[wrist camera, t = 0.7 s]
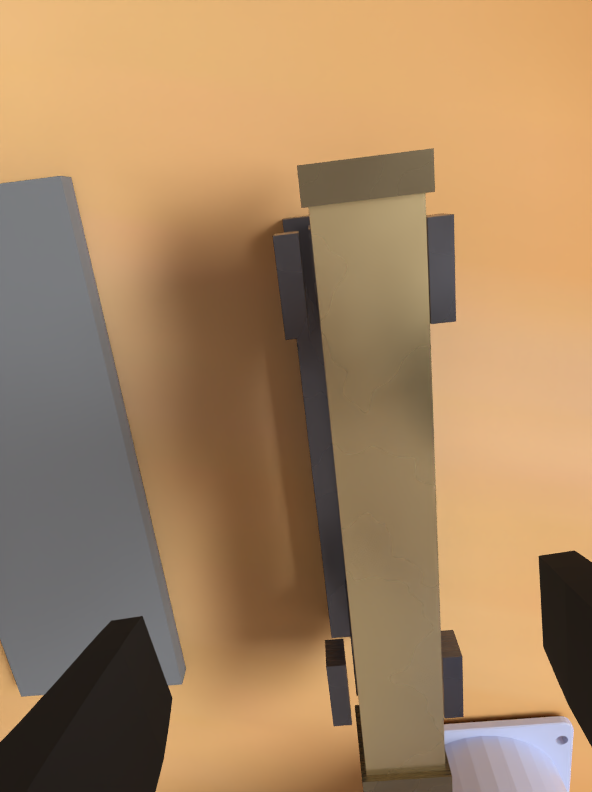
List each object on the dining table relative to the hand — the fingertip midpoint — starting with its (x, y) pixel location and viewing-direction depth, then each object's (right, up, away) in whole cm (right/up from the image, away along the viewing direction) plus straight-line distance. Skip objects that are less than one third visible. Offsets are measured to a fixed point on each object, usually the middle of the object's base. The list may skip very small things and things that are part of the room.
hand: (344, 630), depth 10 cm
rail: (+2, +1, +6) cm, 7 cm away
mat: (-10, +1, +11) cm, 15 cm away
